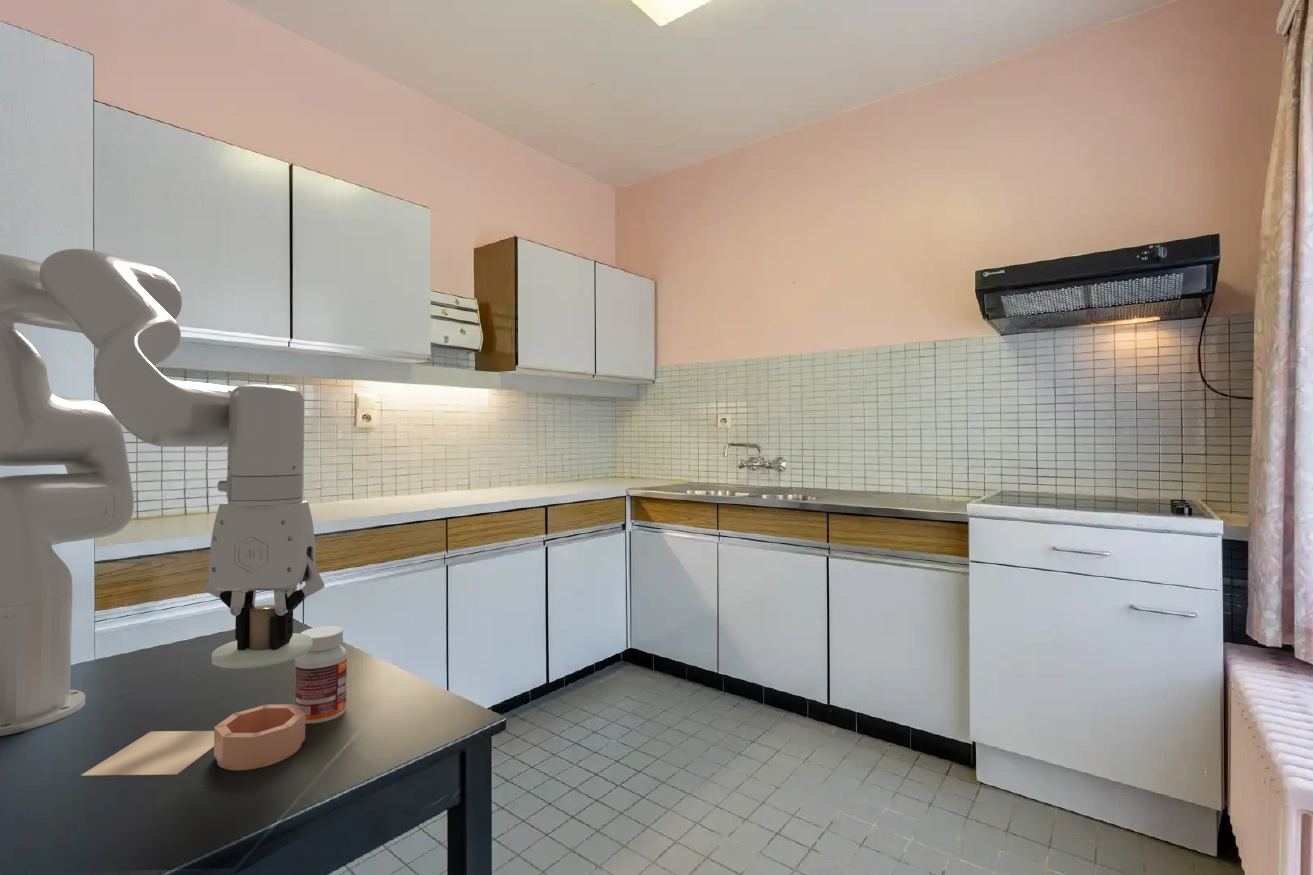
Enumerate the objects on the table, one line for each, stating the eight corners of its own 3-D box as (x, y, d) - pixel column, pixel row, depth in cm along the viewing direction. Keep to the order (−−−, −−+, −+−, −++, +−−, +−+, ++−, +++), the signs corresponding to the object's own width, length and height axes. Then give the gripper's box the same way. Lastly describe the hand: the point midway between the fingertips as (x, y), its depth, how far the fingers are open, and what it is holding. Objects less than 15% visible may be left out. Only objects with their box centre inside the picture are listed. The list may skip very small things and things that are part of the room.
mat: (80, 778, 67) (80, 775, 67) (150, 734, 77) (150, 731, 77) (176, 777, 67) (177, 774, 67) (234, 733, 77) (234, 730, 77)
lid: (190, 669, 67) (190, 620, 67) (245, 639, 77) (246, 597, 77) (284, 668, 68) (285, 619, 68) (327, 639, 78) (328, 597, 78)
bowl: (198, 773, 68) (199, 737, 68) (245, 736, 77) (245, 704, 77) (277, 772, 69) (278, 736, 69) (314, 736, 77) (315, 704, 77)
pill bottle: (348, 719, 82) (350, 634, 82) (295, 730, 78) (296, 641, 78) (342, 702, 87) (344, 622, 87) (292, 712, 84) (294, 628, 84)
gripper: (170, 492, 68) (168, 658, 68) (322, 493, 69) (320, 656, 69) (215, 487, 76) (213, 636, 76) (351, 488, 77) (349, 635, 77)
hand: (264, 644), depth 73 cm, fingers closed on lid, 3 cm apart
